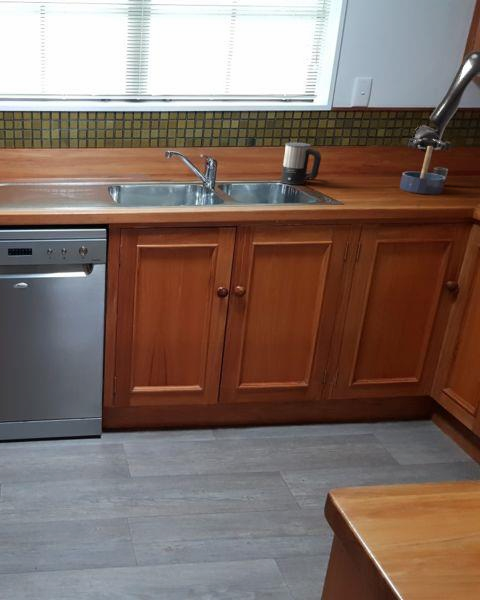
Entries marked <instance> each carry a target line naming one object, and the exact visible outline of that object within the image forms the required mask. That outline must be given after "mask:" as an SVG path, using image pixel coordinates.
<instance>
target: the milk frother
mask: <svg viewBox="0 0 480 600" xmlns="http://www.w3.org/2000/svg"><path fill="white" fill-rule="evenodd" d="M310 147H311V144H309V143H305V142H285V150H284V156H283V165H282V171H281V177H280V180H279V182H280V183H283V184H287V185H304V184H305V181H306V180H309V179H311V180H316V178H317V177H318V175H319V171H320V170H319V169H320V165H321V162H322V155H321V153H320V151H318V149H314V148H310ZM310 155H311V156H313V159H314V160H313V164H312V168H311V172H307V171H308V165H309V157H310Z"/></svg>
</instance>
